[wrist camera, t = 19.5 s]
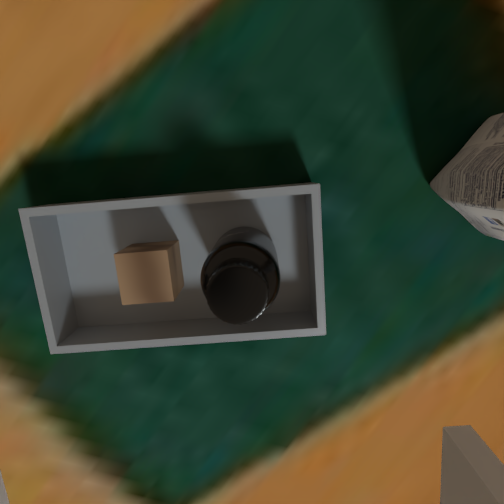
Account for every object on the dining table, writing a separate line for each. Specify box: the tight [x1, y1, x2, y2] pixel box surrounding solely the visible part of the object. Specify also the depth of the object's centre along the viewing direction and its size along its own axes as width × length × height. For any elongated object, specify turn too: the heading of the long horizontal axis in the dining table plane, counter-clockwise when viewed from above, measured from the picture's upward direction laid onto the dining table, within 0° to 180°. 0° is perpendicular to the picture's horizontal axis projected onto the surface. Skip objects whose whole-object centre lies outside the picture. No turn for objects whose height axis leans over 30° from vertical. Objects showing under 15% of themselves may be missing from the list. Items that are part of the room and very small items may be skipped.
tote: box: [18, 182, 326, 354], centre depth 36 cm, size 28×15×5 cm, turn 95°
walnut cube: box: [114, 240, 184, 305], centre depth 36 cm, size 5×5×5 cm
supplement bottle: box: [200, 226, 280, 325], centre depth 32 cm, size 7×7×12 cm
